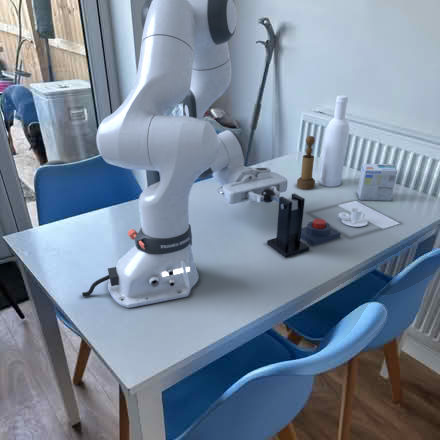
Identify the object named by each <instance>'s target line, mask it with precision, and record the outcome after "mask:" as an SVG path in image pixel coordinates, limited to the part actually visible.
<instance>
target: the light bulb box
mask: <svg viewBox="0 0 440 440" xmlns="http://www.w3.org/2000/svg"><path fill="white" fill-rule="evenodd" d="M397 175H398V169H397V167H396V166H395V164H393V163H362V164H361V169H360V176H359V181H358V188H357V196H358V198H359V200H360V201H386V202H388V201H389V202H390V201H392V197H393V194H394V193H393V192H394V188H395V184H396V180H397V177H398V176H397Z"/></svg>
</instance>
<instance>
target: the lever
mask: <svg viewBox="0 0 440 440" xmlns="http://www.w3.org/2000/svg"><path fill="white" fill-rule="evenodd" d="M261 195H263V196H264V202H263V203H265V204H270V203H272V202H276V203H279V197H280V196H279V197H277V196H275V193H274V191H273V190H272V189H269V188H268V189H265V190H263V191H262V193H261ZM287 199H288V200H290V201H291V202H292V210H296V209H298V200H296V199H293V198H291V197H290V198H287Z"/></svg>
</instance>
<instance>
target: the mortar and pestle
mask: <svg viewBox="0 0 440 440" xmlns="http://www.w3.org/2000/svg"><path fill="white" fill-rule="evenodd" d="M315 142H316V139H315V137H314V136H313V135H309V136H308V135H307V137H306V139H305V143H306V146H307V148H306V149H305V153H306V154H304V155H302V160H301V161H302V164H301V171H300V172H301V173H300V177H299V178H297V180H296V187H297V188H298V189H301V190H305V191H308V190H309V191H310V190H312V189H315V186H316V180H315V178H313V170H314V162H315V161H314V160H315V155H313V154H312V153H313V145H314V144H315Z"/></svg>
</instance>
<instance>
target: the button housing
mask: <svg viewBox="0 0 440 440" xmlns="http://www.w3.org/2000/svg"><path fill="white" fill-rule="evenodd" d="M340 238H341V232H340V231H339V230H337V229H335V228H333V227H332V226H331V224H330V223H329V222H326V225H325V228H323V229H316V228H314V227H313V220H312V221H309V222H308V223H307V224H306V226H305V227H302V230H301V239H300V240H303V241H304V242H305V243H307V244H309V245H310V246H312V247H314V246H317V245H321V244H324V243H328V242H330V241H331V242H332V241H334V240H338V239H340Z"/></svg>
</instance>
